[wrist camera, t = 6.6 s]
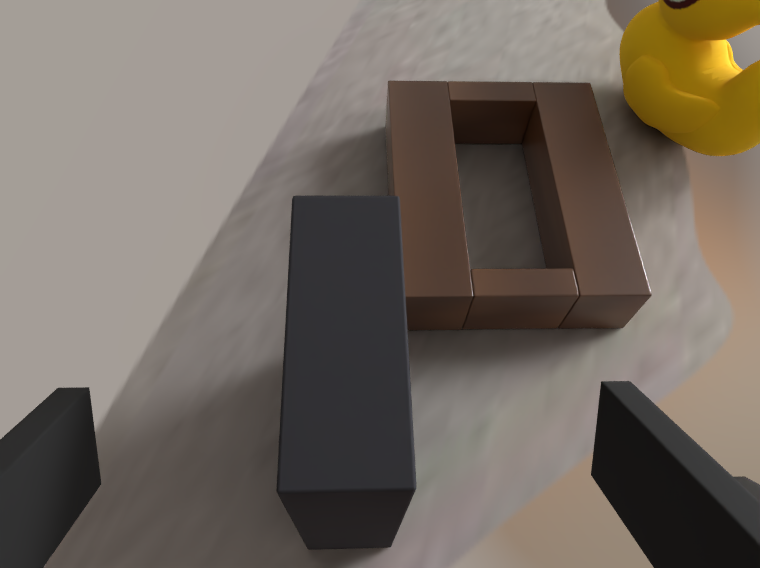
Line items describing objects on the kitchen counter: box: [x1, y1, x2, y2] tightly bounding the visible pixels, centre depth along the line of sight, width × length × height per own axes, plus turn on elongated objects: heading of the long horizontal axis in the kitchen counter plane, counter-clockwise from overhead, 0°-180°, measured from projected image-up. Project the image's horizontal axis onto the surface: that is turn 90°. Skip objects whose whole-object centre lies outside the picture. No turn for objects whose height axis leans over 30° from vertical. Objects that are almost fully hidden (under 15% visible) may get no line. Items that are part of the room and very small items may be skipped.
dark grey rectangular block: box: [277, 196, 416, 550], centre depth 19 cm, size 3×8×10 cm, turn 2°
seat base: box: [385, 81, 652, 330], centre depth 28 cm, size 10×12×3 cm
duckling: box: [620, 0, 760, 156], centre depth 29 cm, size 11×5×10 cm, turn 25°
